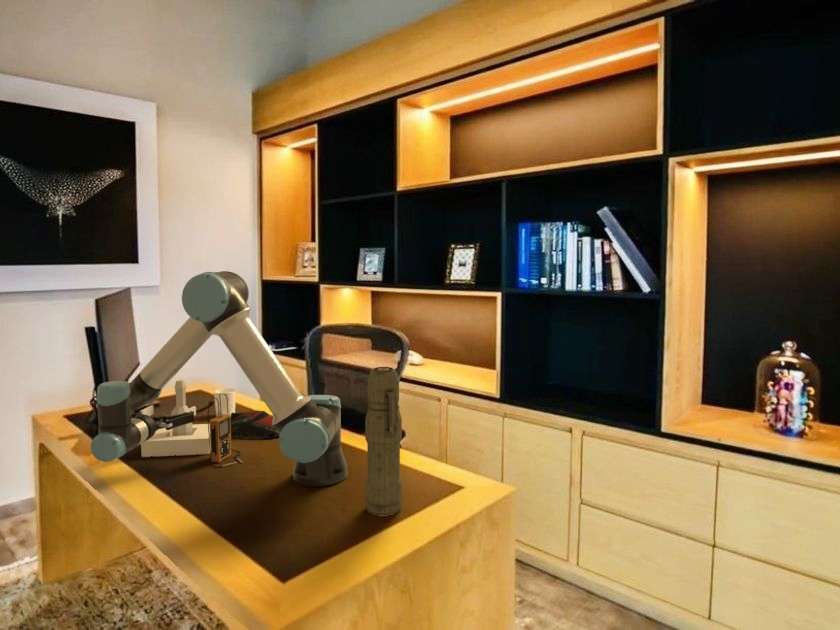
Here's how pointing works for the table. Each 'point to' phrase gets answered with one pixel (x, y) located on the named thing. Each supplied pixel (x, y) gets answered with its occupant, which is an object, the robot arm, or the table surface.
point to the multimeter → (220, 436)
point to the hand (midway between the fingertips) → (173, 410)
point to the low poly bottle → (181, 409)
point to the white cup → (225, 400)
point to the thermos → (383, 442)
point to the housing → (177, 442)
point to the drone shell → (252, 425)
